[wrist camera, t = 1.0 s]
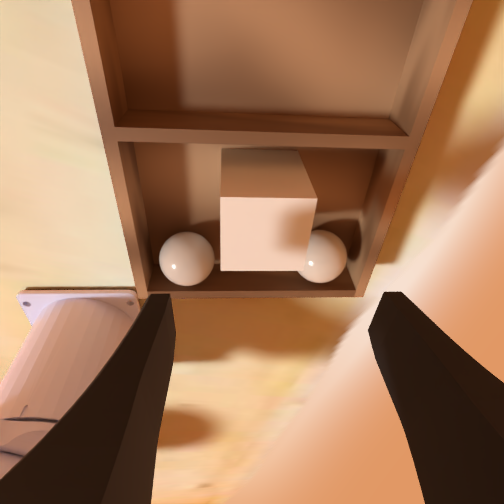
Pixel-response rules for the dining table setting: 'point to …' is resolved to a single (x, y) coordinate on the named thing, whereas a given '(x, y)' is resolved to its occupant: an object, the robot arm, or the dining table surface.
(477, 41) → the dining table surface
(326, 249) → the pebble
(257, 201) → the white block
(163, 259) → the pebble
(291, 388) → the dining table surface
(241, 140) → the caddy
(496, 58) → the dining table surface
